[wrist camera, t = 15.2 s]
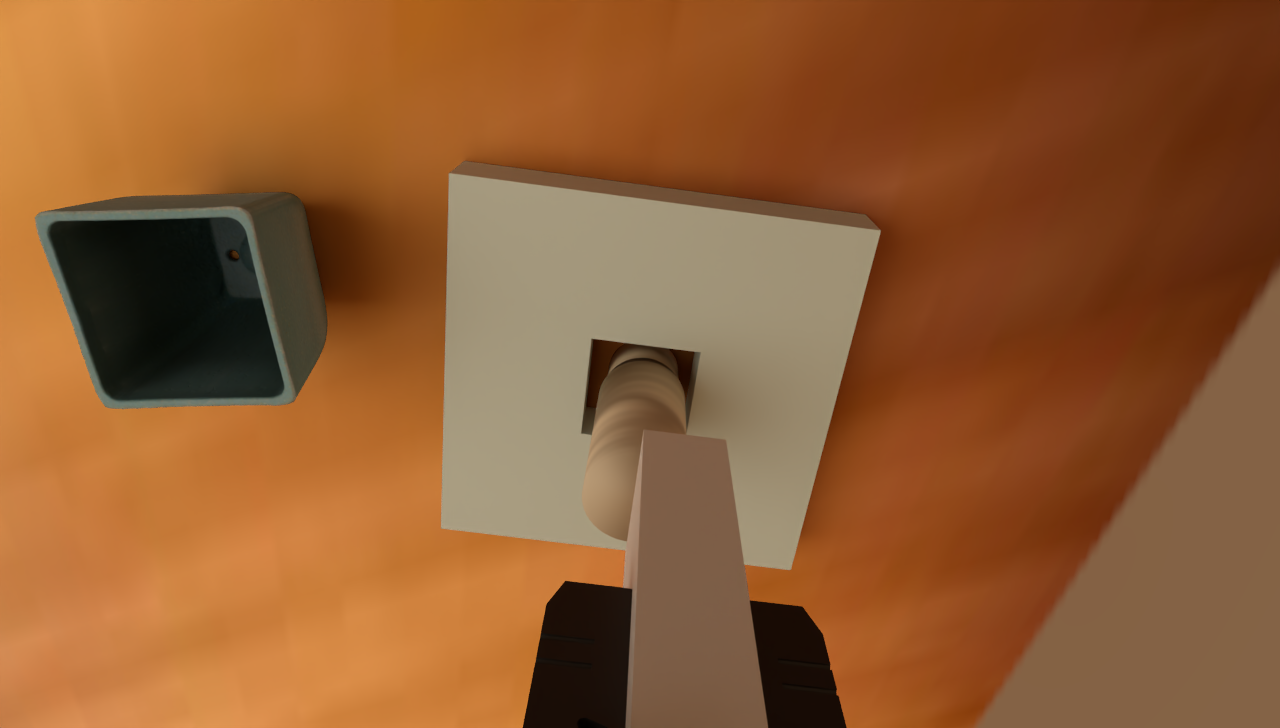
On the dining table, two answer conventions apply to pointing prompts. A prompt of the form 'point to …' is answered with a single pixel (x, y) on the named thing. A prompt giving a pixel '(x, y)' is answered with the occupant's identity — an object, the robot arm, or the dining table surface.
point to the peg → (628, 430)
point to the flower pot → (190, 297)
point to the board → (638, 340)
